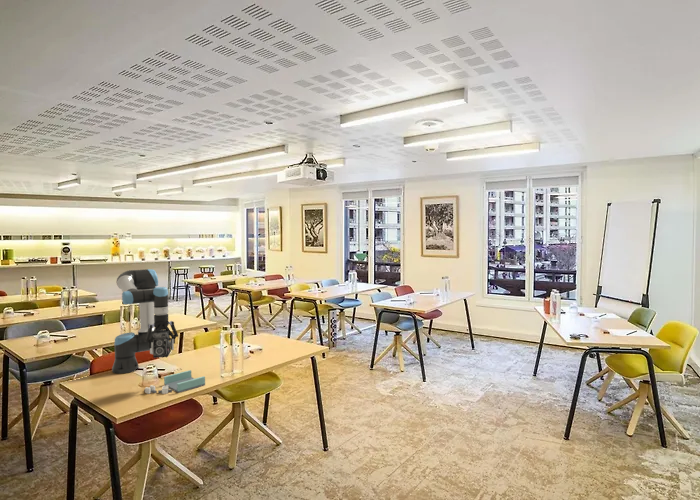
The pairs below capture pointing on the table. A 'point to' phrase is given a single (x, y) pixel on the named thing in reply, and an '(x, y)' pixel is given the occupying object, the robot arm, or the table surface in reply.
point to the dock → (183, 381)
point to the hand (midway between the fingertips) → (162, 351)
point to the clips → (148, 390)
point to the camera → (161, 344)
